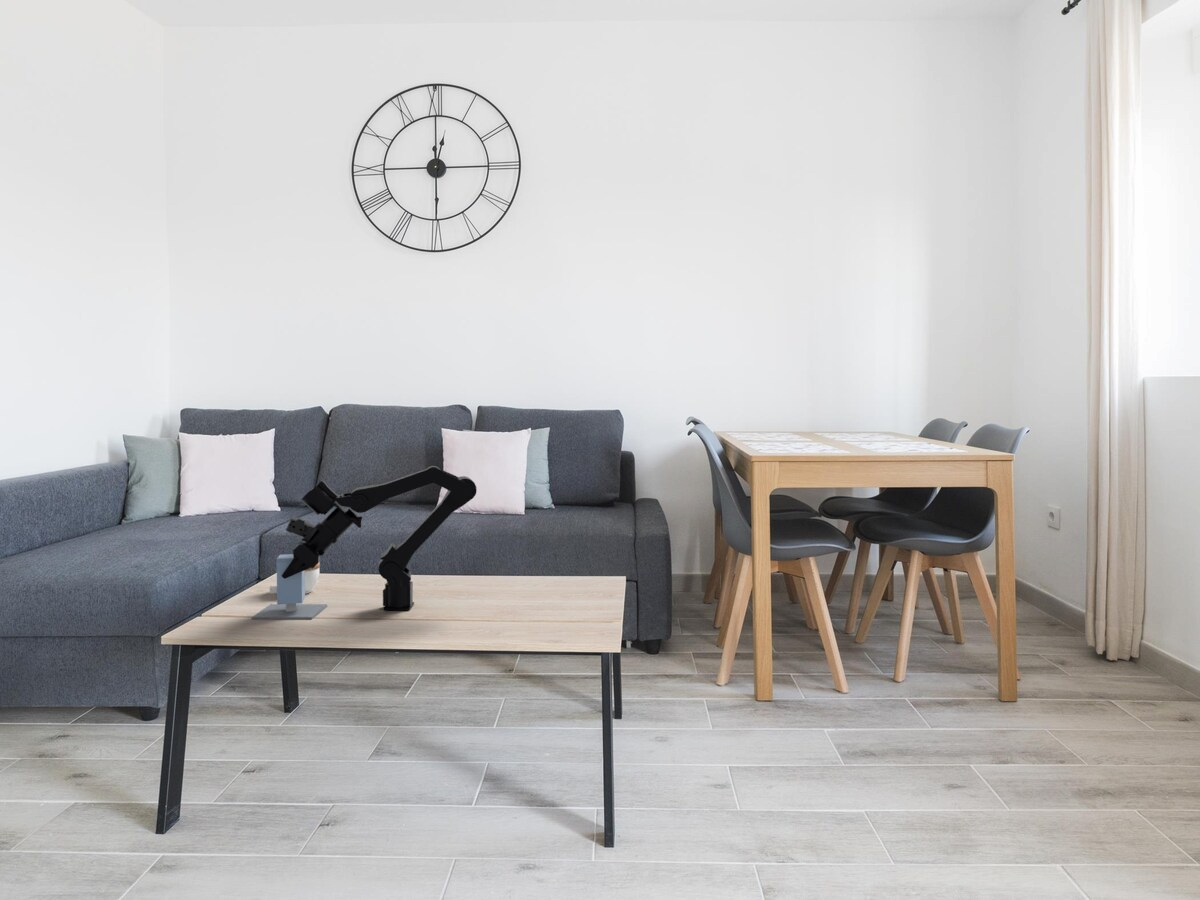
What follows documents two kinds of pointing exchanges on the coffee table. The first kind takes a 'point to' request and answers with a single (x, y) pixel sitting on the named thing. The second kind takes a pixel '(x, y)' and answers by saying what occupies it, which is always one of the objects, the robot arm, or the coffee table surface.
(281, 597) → the tall blue rectangular block
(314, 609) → the flat square base plate
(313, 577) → the lidded jar
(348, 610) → the coffee table surface
